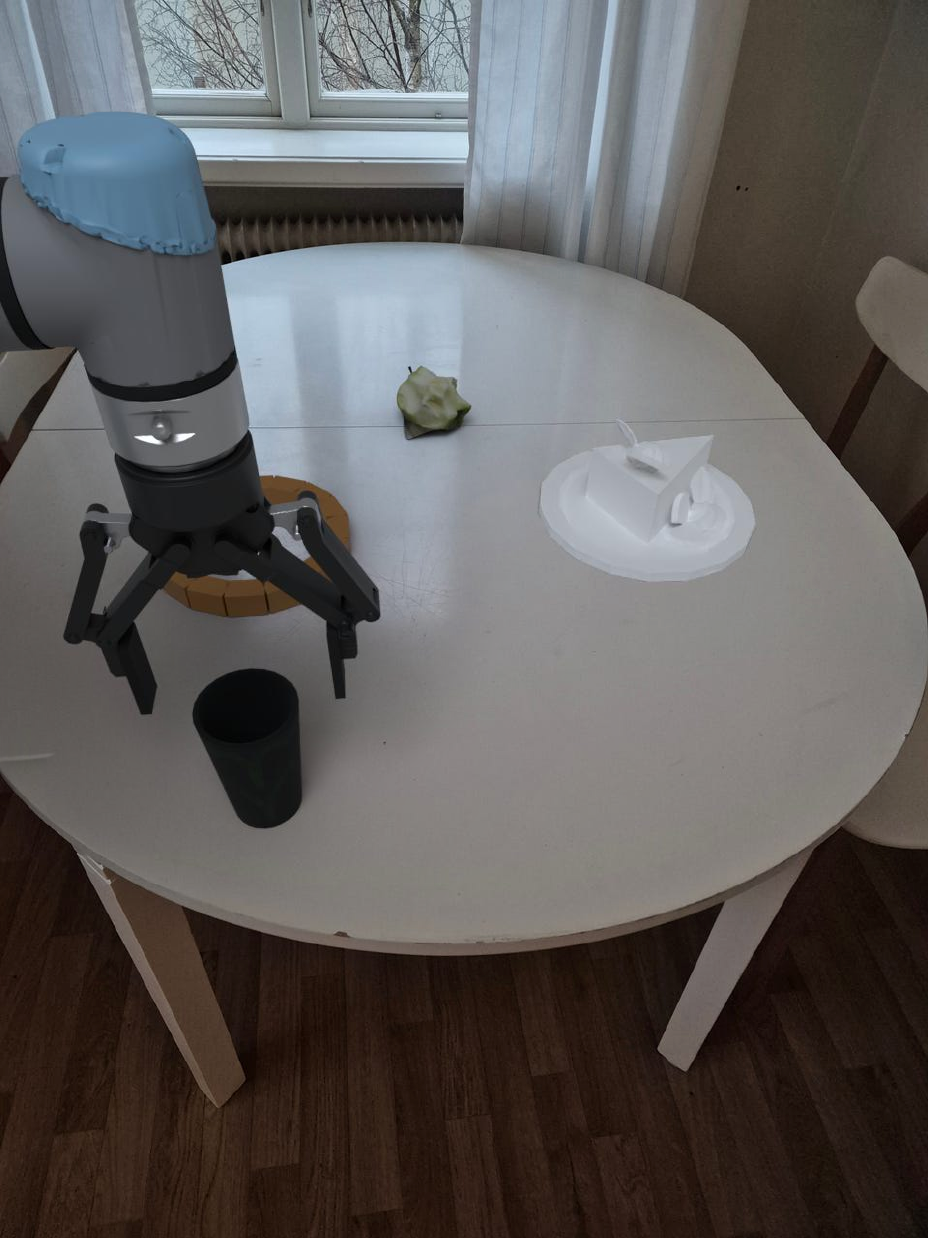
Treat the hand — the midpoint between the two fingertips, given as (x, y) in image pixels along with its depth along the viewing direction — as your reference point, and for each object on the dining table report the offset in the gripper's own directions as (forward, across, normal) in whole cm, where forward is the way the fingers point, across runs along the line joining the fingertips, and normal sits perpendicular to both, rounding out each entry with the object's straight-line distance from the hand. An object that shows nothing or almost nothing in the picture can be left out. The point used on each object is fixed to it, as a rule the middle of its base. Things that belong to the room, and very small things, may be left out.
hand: (245, 693), depth 62 cm
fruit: (+14, +19, +58) cm, 62 cm away
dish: (+14, +42, +36) cm, 57 cm away
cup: (+14, 0, 0) cm, 14 cm away
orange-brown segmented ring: (+13, -3, +33) cm, 36 cm away
